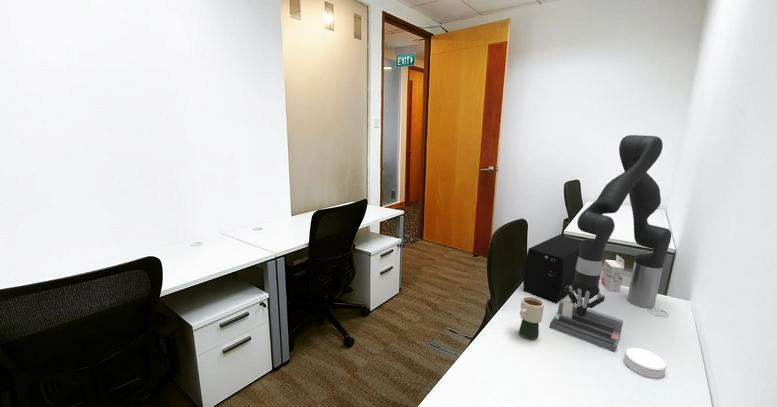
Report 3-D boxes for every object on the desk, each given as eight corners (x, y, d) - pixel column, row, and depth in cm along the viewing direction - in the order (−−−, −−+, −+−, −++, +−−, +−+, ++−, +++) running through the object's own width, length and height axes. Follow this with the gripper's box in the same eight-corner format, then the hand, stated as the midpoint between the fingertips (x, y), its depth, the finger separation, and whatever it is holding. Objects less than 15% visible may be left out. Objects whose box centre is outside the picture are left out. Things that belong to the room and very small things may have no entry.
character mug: (528, 325, 122) (533, 292, 119) (547, 335, 116) (552, 301, 113) (509, 334, 116) (513, 300, 113) (527, 346, 110) (532, 310, 107)
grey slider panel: (558, 314, 130) (560, 300, 129) (620, 335, 117) (623, 320, 116) (549, 327, 121) (551, 312, 120) (614, 352, 108) (618, 335, 107)
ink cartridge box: (600, 282, 159) (605, 253, 155) (611, 283, 158) (617, 254, 154) (607, 290, 150) (613, 260, 147) (620, 292, 149) (626, 261, 146)
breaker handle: (563, 316, 124) (565, 298, 123) (572, 319, 123) (575, 301, 121) (561, 319, 122) (563, 301, 121) (570, 322, 120) (572, 304, 119)
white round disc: (646, 356, 107) (649, 346, 106) (673, 379, 97) (675, 368, 96) (616, 356, 107) (617, 346, 106) (639, 379, 97) (641, 368, 96)
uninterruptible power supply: (587, 282, 158) (594, 242, 154) (557, 306, 136) (564, 260, 132) (551, 271, 170) (557, 233, 165) (519, 291, 148) (524, 248, 143)
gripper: (612, 272, 114) (604, 318, 118) (569, 261, 122) (563, 305, 126) (608, 279, 108) (600, 327, 112) (564, 267, 117) (557, 313, 120)
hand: (580, 315), depth 119 cm, fingers closed
